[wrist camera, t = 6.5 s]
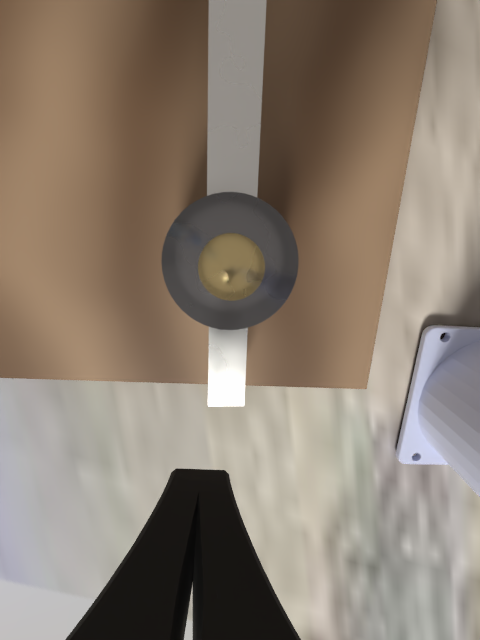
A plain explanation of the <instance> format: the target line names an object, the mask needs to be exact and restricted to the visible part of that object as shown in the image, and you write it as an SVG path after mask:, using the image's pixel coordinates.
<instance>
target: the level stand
mask: <svg viewBox="0 0 480 640" xmlns="http://www.w3.org/2000/svg"><path fill="white" fill-rule="evenodd" d="M436 3H437V0H267V1H266V23H265V44H264V65H263V86H262V107H261V129H260V150H259V171H258V192H257V198H259V199H261V200H263V201H265V202H266V203H268V204H270V205H271V206H272V207H273V208H275V209H276V210H277V211H278V212H279V213H280V214H281V215H282V216H283V218H284V219H285V220H286V222H287V223H288V225H289V227H290V229H291V230H292V232H293V235H294V238H295V240H296V244H297V248H298V257H299V264H298V273H297V278H296V281H295V285H294V287H293V289H292V292H291V294H290V295H289V297H288V299H287V300H286V302H285V303H284V304H283V305H282V307H281V308H280V309H279V310H278V311H277V312H276V313H275V314H273V315H272V316H271V317H270V318H268V319H266V320H265V321H263V322H261V323H259V324H257V325H255V326H252V327H248V334H247V356H246V379H245V385H254V386H286V387H319V388H351V389H367V383H368V378H369V372H370V366H371V361H372V355H373V350H374V344H375V339H376V333H377V328H378V322H379V317H380V311H381V306H382V300H383V295H384V289H385V284H386V278H387V273H388V267H389V262H390V256H391V251H392V245H393V240H394V234H395V229H396V223H397V218H398V212H399V207H400V201H401V196H402V190H403V185H404V179H405V174H406V168H407V163H408V157H409V152H410V146H411V141H412V135H413V130H414V124H415V119H416V113H417V108H418V102H419V97H420V91H421V85H422V80H423V74H424V69H425V63H426V58H427V52H428V47H429V41H430V36H431V30H432V25H433V19H434V14H435V8H436ZM208 25H209V0H0V378H26V379H58V380H91V381H124V382H156V383H189V384H208V357H209V326H206V325H203V324H201V323H199V322H197V321H195V320H194V319H192V318H191V317H189V316H188V315H187V314H186V313H185V312H183V311H182V310H181V309H180V307H179V306H178V305H177V304H176V303H175V301H174V300H173V298H172V297H171V295H170V293H169V291H168V289H167V287H166V284H165V281H164V277H163V273H162V263H161V261H162V250H163V244H164V241H165V238H166V235H167V233H168V231H169V228H170V227H171V225H172V223H173V222H174V220H175V219H176V218H177V217H178V215H179V214H180V213H181V212H182V211H183V210H184V209H185V208H187V207H188V206H189V205H191V204H192V203H194V202H195V201H197V200H199V199H201V198H203V197H205V196H207V138H208Z"/></svg>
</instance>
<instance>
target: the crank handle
mask: <svg viewBox="0 0 480 640" xmlns="http://www.w3.org/2000/svg"><path fill="white" fill-rule="evenodd" d="M266 1H267V0H209V25H208V138H207V196H205V197H203V198H201V199H199V200H197V201H195V202H194V203H192V204H191V205H189V206H188V207H187V208H185V209H184V210H183V211H182V212H181V213H180V214H179V215H178V217H177V218H176V219H175V220H174V222H173V223H172V225H171V227H170V228H169V231H168V233H167V235H166V238H165V241H164V244H163V250H162V261H161V263H162V273H163V277H164V281H165V284H166V287H167V289H168V291H169V293H170V295H171V297H172V298H173V300H174V301H175V303H176V304H177V305H178V306H179V307H180V309H181V310H182V311H183V312H185V313H186V314H187V315H188V316H189V317H191V318H192V319H194V320H195V321H197V322H199V323H201V324H203V325H206V326H209V357H208V406H244V401H245V379H246V356H247V334H248V327H252V326H255V325H257V324H259V323H261V322H263V321H265V320H266V319H268V318H270V317H271V316H272V315H273V314H275V313H276V312H277V311H278V310H279V309H280V308H281V307H282V305H283V304H284V303H285V302H286V300H287V299H288V297H289V295H290V294H291V292H292V289H293V287H294V285H295V281H296V278H297V273H298V264H299V257H298V248H297V244H296V240H295V238H294V235H293V232H292V230H291V229H290V227H289V225H288V223H287V222H286V220H285V219H284V218H283V216H282V215H281V214H280V213H279V212H278V211H277V210H276V209H275V208H273V207H272V206H271V205H270V204H268V203H266V202H265V201H263V200H261V199H259V198H257V192H258V171H259V150H260V129H261V107H262V86H263V65H264V44H265V23H266Z"/></svg>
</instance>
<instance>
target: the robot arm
mask: <svg viewBox="0 0 480 640" xmlns="http://www.w3.org/2000/svg"><path fill="white" fill-rule="evenodd" d="M443 333H445V337H444V338H443V339H440V336H441V334H443ZM415 453H417V454H416V455H415V456H413V454H415ZM396 457H397V458H398V460H399V461H400V462H401V463H403V464H442V465H450V466H451V467H452V468H453V469H454V470H455V471H456V472H457V473H458V475H459V476H460V477H461V478H462V479H463V480H464V481H465V482H466V483H467V484H468V485H469V486H470V487H471V488H472V489H473V490H474V491H475V493H476V494H477V495H478V496H479V497H480V327H462V326H440V325H431V326H428V327H427V328H425V330H424V331H423V333H422V336H421V341H420V345H419V350H418V354H417V359H416V364H415V368H414V373H413V377H412V382H411V386H410V391H409V395H408V400H407V404H406V409H405V414H404V418H403V423H402V427H401V432H400V436H399V441H398V445H397V450H396ZM192 582H193V640H301V639H300V638H299V636H298V634H297V632H296V631H295V629H294V627H293V625H292V623H291V622H290V620H289V618H288V616H287V614H286V613H285V611H284V609H283V607H282V605H281V603H280V601H279V599H278V597H277V595H276V594H275V592H274V590H273V588H272V586H271V584H270V581H269V579H268V577H267V575H266V573H265V571H264V569H263V567H262V565H261V563H260V561H259V558H258V556H257V554H256V552H255V549H254V547H253V545H252V542H251V540H250V538H249V535H248V533H247V530H246V528H245V526H244V523H243V520H242V518H241V515H240V512H239V509H238V507H237V504H236V501H235V498H234V494H233V491H232V487H231V483H230V479H229V474H228V473H227V472H226V471H225V470H200V469H175V470H174V471H173V472H172V473H171V475H170V478H169V480H168V483H167V485H166V487H165V489H164V491H163V493H162V495H161V497H160V499H159V501H158V503H157V505H156V507H155V509H154V510H153V512H152V514H151V516H150V518H149V519H148V521H147V523H146V524H145V526H144V528H143V529H142V531H141V533H140V534H139V536H138V538H137V539H136V541H135V543H134V544H133V546H132V547H131V549H130V550H129V552H128V553H127V555H126V556H125V558H124V559H123V561H122V562H121V564H120V565H119V567H118V568H117V570H116V571H115V573H114V574H113V576H112V577H111V579H110V580H109V582H108V583H107V585H106V586H105V587H104V589H103V590H102V592H101V593H100V594H99V596H98V597H97V599H96V600H95V601H94V603H93V604H92V606H91V607H90V608H89V610H88V611H87V612H86V614H85V615H84V616H83V618H82V619H81V620H80V622H79V623H78V624H77V625H76V627H75V628H74V629H73V631H72V632H71V633H70V635H69V636H68V637H67V638H66V640H184V634H185V627H186V621H187V614H188V608H189V602H190V595H191V589H192Z"/></svg>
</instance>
